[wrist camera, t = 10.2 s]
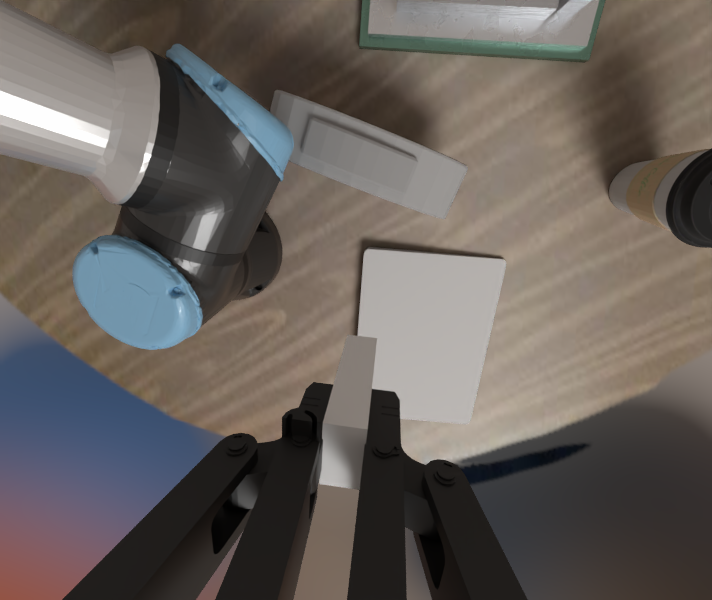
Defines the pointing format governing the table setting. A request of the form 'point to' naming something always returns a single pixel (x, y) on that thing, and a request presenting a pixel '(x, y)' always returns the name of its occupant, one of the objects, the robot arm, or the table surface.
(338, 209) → the table surface
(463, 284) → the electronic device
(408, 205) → the alarm clock
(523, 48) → the heatsink
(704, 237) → the coffee cup
